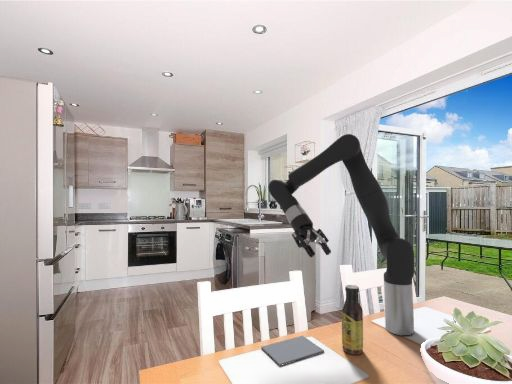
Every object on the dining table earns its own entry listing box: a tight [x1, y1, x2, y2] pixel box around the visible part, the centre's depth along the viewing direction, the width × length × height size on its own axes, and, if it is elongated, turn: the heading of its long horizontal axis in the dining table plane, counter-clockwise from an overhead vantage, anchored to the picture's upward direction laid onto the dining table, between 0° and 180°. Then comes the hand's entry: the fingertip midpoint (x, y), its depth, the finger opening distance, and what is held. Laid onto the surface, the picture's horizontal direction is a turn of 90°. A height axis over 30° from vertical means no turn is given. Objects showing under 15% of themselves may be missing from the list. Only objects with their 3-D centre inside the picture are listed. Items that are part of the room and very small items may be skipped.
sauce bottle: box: [341, 284, 364, 356], centre depth 86 cm, size 6×6×20 cm
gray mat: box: [261, 335, 325, 366], centre depth 86 cm, size 16×11×1 cm
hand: (321, 254), depth 96 cm, fingers open, 8 cm apart
